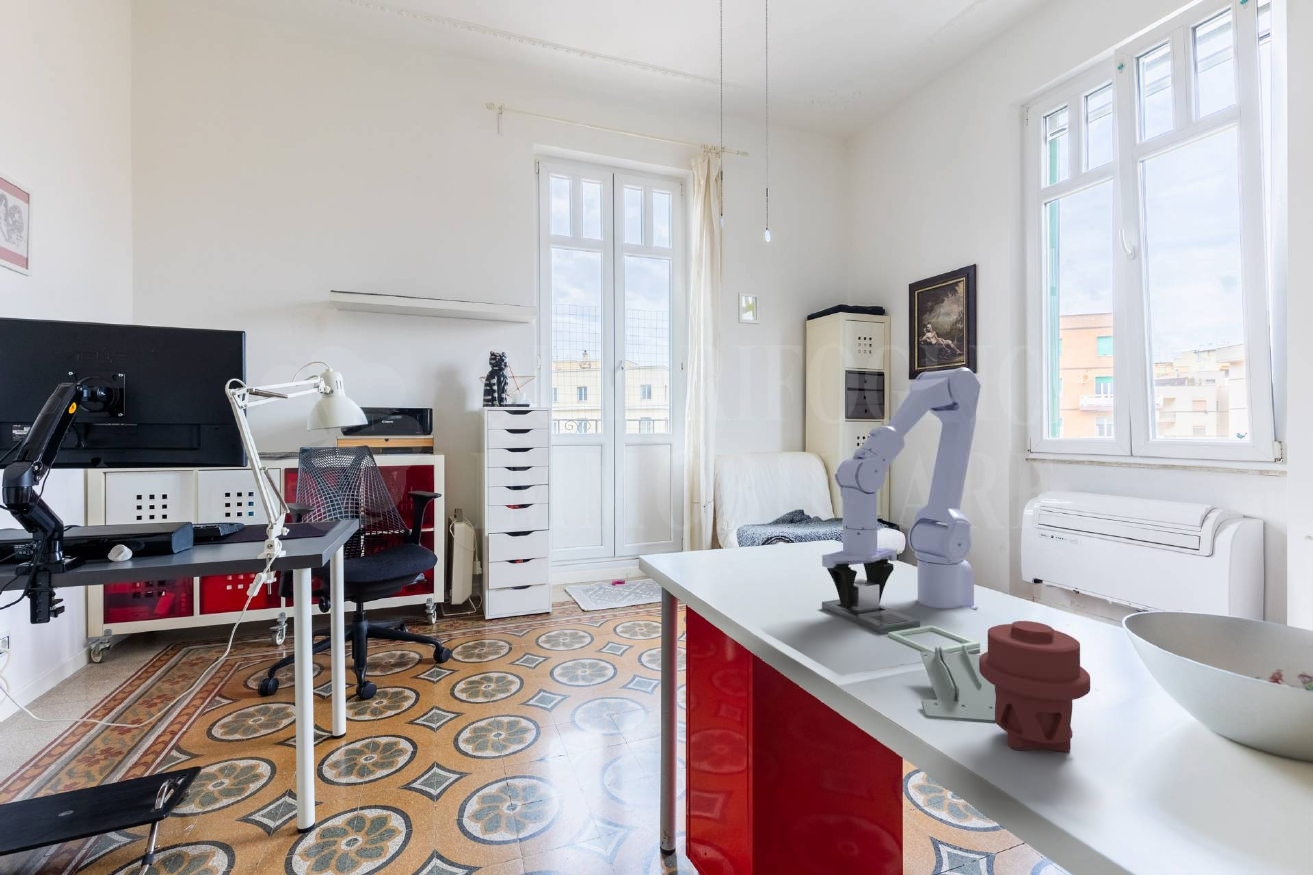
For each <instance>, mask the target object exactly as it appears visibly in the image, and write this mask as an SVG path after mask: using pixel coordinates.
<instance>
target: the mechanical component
mask: <svg viewBox="0 0 1313 875" xmlns="http://www.w3.org/2000/svg"><path fill="white" fill-rule="evenodd" d="M980 655H981V656H980V658H979V671H980V673H981V675H982V676H983V677H984V678H985V679H986V680H987V681H989V682H990V683H991V684H993V685H995V694H996V702H995V721H996V723H995V724H997V725H998V727H999V728H1001V730H1003V731H1004V732H1006V734H1007V745H1008V746H1009V748H1011V749H1012V750H1015V751H1016V750H1017V751H1024V750H1026V751H1027V750H1040V749H1041V750H1047V751H1048V750H1049V751H1056V752H1062V753H1067V752H1069V751H1071V745H1072V741H1071V739H1072V738H1073V730H1072V729H1073V728H1072V727H1071V726H1072V725H1071V723H1072V715H1073V700H1074V701H1075V700H1078V699H1080V698H1081V699H1082V698H1083V697H1085V696H1086V695H1088V694H1089V693H1090V692H1091V675H1090V673H1089V672H1088V671H1087V669H1085V668H1083V667H1082V666H1081V643H1080V642H1079V640H1077V639H1076V638H1075V637H1073V636H1072V635H1070V634H1067V633H1065V632H1062V631H1058V630H1056V629H1054V628H1053V627H1052V626H1050V625H1048V624H1045V623H1042V622H1037V621H1029V620H1017V621H1014V622H1012V623H1006V624H998V625H994V626H992V627H990V628H988V629H987V651H985V652H984V653H982V654H980Z"/></svg>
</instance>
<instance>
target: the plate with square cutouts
mask: <svg viewBox="0 0 1313 875" xmlns="http://www.w3.org/2000/svg"><path fill="white" fill-rule="evenodd" d="M821 610H824V611H826V612H829V613H831V614H833V615H836V616H838V617H840V618H842V619H844V620H847V621H850V622H852V623H854V624H855V625H858V626H861V627H863V628H865V629H867V630H870V631H871V632H874V633H877V634H879V635H886V634H887V635H888V632H894V631H900V630H906V629H912V628H918V627H921V620H920V619H918V618H916V617H913V616H910V615H908V614H904V613H902V612H900V611H897V610H894V609H892V608H888V607H885V606H884V605H880V604H879V611H876V612H870V613H863V614H856V613H854V612H851V611H849V610H847V609H844V608H842V606H841V603H840V599H832V600H826V601H821Z"/></svg>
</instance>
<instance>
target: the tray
mask: <svg viewBox="0 0 1313 875" xmlns="http://www.w3.org/2000/svg"><path fill="white" fill-rule="evenodd" d="M925 632H934V633H936V634H940V635H942V636H945V637H947V638H950V639H953V640H956V641H958V642H960V643H959V644H954V645H947V646H943V647H941V648H942V650H943V653H954V652H955V653H957V654H962V645H965V647H966V650H967V652H968V654H976V655H979V654H981V648H980V647H981V643H980V642H979V641H975V640H974V639H970V638H968V637H965V636H963V635H959V634H956V633H955V632H951V631H949V630H946V629H943V628H940V627H938V626H936V625H933V624H931V625H925V626H924V625H923V626H920V627H918V628H912V629H906V630H900V631H894V632H888V633H887V636H888V637H889V638H892V639H895V640H896V641H899V642H901V643H904V644H906V645H908V646H910V647H913V648H915V649H917V650H920V651H921V652H935V648H932V647H929V646H927V645H924V644H922V643H921V642H917V641H914V640H912V639H910V638H908V637H905V636H908V635H909V636H910V635H914V634H915V635H916V634H921V633H925ZM969 649H970V650H969ZM938 650H939V647H938ZM959 651H961V652H959Z"/></svg>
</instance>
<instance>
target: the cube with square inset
mask: <svg viewBox="0 0 1313 875" xmlns="http://www.w3.org/2000/svg"><path fill="white" fill-rule="evenodd" d="M879 605H880V604H879V584H876V583H873V582H870V581H867V579H864V578H855V581H854V586H853V604H852V608H851V609H847V608H845V607H843V606H842V608H844V609H847V610H849V611H851V612H854V613H856V614H863V613H870V612H876V611H879Z"/></svg>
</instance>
